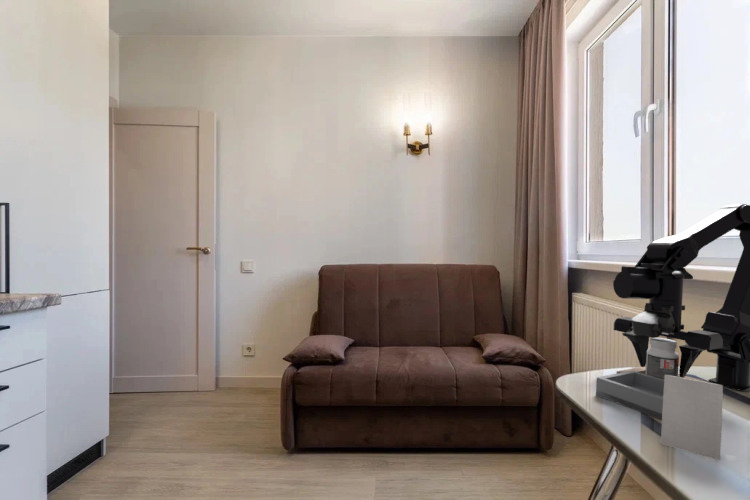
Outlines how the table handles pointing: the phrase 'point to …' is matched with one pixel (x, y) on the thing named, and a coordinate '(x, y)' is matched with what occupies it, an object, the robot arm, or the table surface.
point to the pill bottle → (662, 358)
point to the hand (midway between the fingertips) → (661, 371)
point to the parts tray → (633, 391)
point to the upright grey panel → (692, 416)
